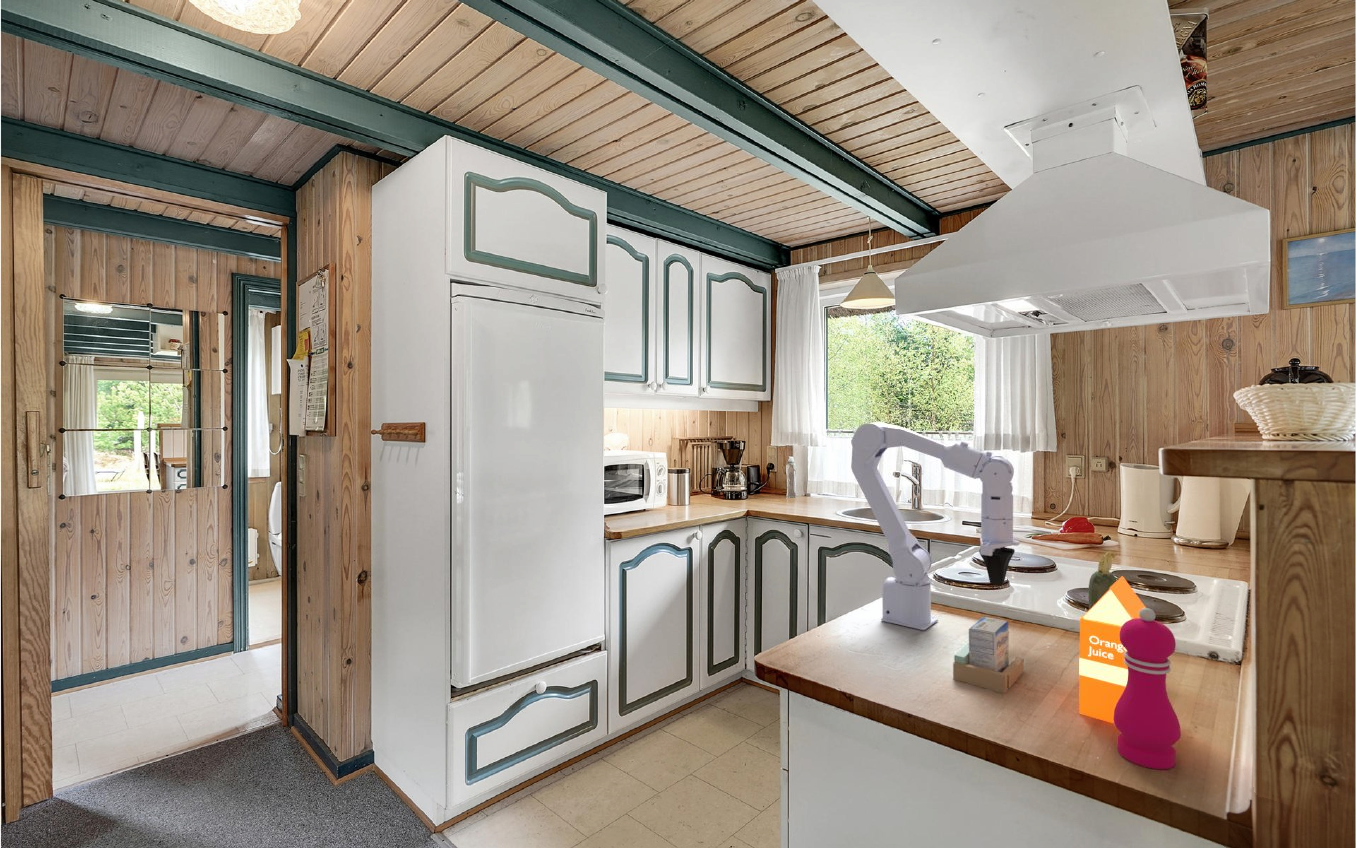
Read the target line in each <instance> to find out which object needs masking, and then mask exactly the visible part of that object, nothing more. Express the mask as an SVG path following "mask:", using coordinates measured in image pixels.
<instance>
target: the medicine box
mask: <svg viewBox="0 0 1356 848" xmlns="http://www.w3.org/2000/svg"><path fill="white" fill-rule="evenodd" d="M1009 633H1010V631H1009V621H1007V620H1004V619H999V618H994V617H988V616H986V617H985V616H983V617H981V618H980V619H979V620H978V621H977V622H976V623H974V624H973V625H971V627H970V628H968V643H969V664H970V665H974V666H978V667H982V668H986V669H990V670H994V671H998V672H1003V671H1004V670H1005V669H1006V668H1007V667H1008V665H1009V664H1010V661H1009V657H1010V656H1009V655H1010V653H1009V651H1010V650H1009V647H1010V646H1009V645H1010V644H1009V641H1010V640H1009V637H1010V636H1009Z"/></svg>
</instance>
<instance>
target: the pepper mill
mask: <svg viewBox="0 0 1356 848" xmlns="http://www.w3.org/2000/svg"><path fill="white" fill-rule="evenodd" d="M1139 616H1140V618H1134V619H1131V620H1128V621H1127V622H1125V623H1124V624H1123V625H1122V627H1121V629H1120V634H1119V637H1120V642H1121V644H1122V645H1123V646H1124V648H1125V649H1126V650H1127V651H1126V652H1125V653H1124V657H1125V659H1124V663H1125V664H1126V665H1127V667H1128V680H1127V684H1126V687H1125V689H1124V691H1123V693H1122V695H1121V697H1120V698H1119V700H1118V702H1117V704H1116V707H1115V709H1114V717H1113V720H1114V723H1113V724H1114V726H1115V727H1116V729H1117V730H1118V732H1119V733H1120V734H1119V735H1118V736H1117V752H1118V754H1120V755H1121V756H1122V758H1125V760H1127V761H1130V762H1131V763H1134V764H1136V765H1138V766H1140V767H1141V766H1142V767H1145V768H1148V769H1153V770H1168V769H1172V768H1173V767H1175V766H1176V764H1177V762H1176V761H1177V760H1176V755H1177V753H1176V749H1175V747H1174V745H1175V744H1177V743H1178V742H1179V741H1180V739H1181V735H1182V732H1181V724H1180V721H1179V719H1178V715H1177V714H1176V711H1175V710H1174V707H1173V705H1172V703H1171V701H1170V699H1169V695H1168V691H1167V675H1168V674H1169V673H1170V672H1171V667H1170V666H1171V660H1170V659H1169V657H1170V656H1172V655H1173V654H1174V653H1175V650H1176V647H1177V643H1176V638H1175V636H1174V634H1173V632H1172V630H1171V629H1170V628H1169V627H1167V626H1166V625H1165V624H1164V623H1162V622H1160V621H1157V620H1155V619H1156V613H1155V612H1154V610H1153V609H1151V608H1148V607H1146V608H1143V609H1141V610H1140V611H1139Z"/></svg>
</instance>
